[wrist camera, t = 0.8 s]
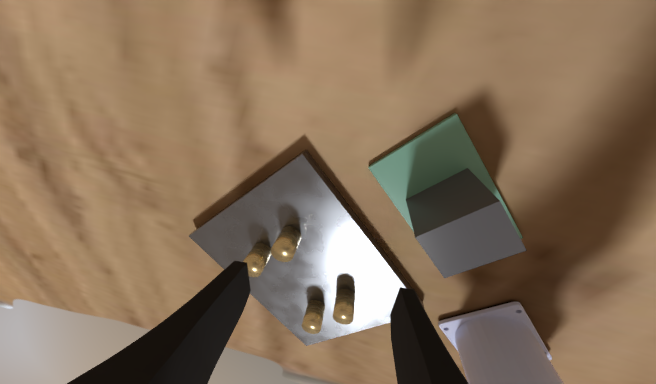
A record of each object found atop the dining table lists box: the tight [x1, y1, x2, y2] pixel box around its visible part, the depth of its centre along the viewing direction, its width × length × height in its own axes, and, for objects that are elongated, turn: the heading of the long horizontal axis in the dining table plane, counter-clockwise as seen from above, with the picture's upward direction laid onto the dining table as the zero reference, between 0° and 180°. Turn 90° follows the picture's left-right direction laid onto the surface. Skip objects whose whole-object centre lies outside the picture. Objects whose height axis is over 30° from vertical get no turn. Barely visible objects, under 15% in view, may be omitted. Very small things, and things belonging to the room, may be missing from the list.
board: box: [369, 113, 527, 278], centre depth 17 cm, size 12×7×6 cm, turn 38°
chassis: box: [189, 150, 424, 346], centre depth 23 cm, size 20×16×4 cm
